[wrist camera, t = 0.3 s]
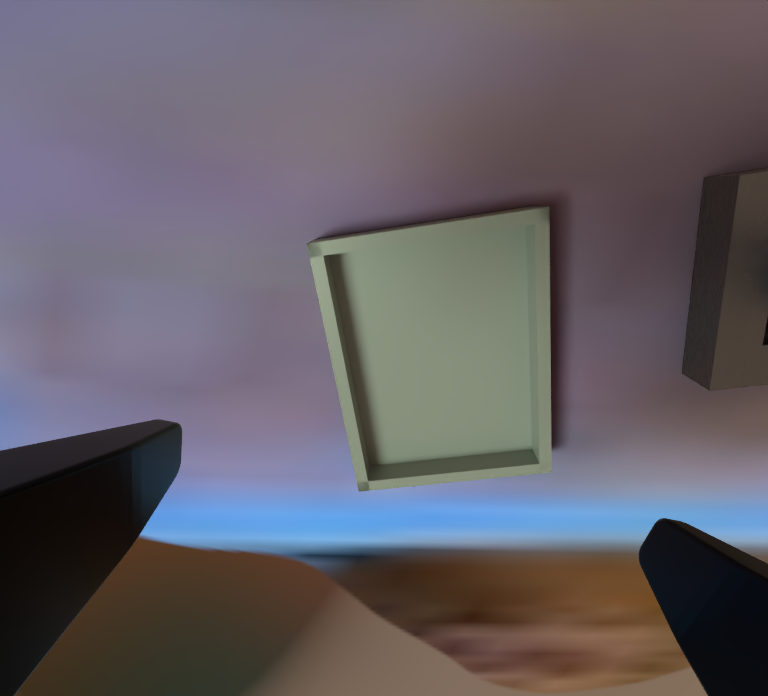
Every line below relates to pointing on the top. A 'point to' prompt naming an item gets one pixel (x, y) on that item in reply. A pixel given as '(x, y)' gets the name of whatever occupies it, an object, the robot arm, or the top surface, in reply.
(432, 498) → the top surface
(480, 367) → the tray
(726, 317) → the receiver socket
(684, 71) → the top surface
